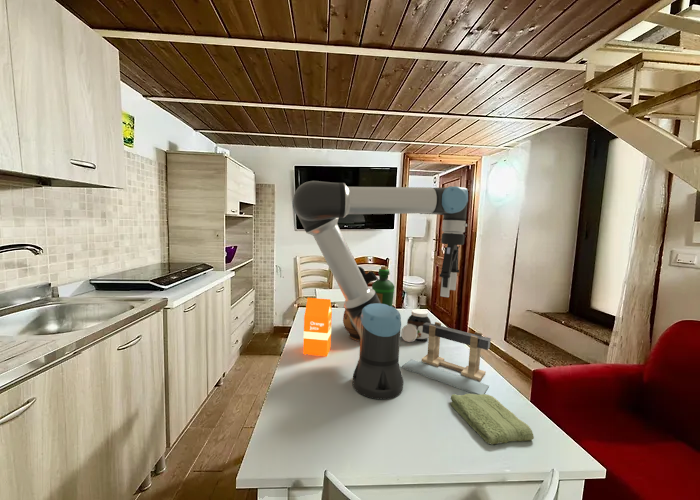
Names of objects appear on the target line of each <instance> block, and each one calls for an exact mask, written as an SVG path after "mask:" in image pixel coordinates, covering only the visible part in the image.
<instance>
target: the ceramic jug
mask: <svg viewBox="0 0 700 500" xmlns="http://www.w3.org/2000/svg"><path fill="white" fill-rule="evenodd" d="M357 266H358V265H357ZM358 268H359V270H360V272H361V274H362V276H363V278H364V280H365V282H366V284H367V286H368V285H369V283H372V282H375V281H377V280H378V279H379V277H378V276H377V275H376V274H375V273H374V272H373V271H368V272H367V273H366V270H365V269H364V268H363V267H361V266H358ZM342 323H343V327H344V329H345V331H347V333H348V338H349V339H352V340H353V341H355V342H357V341H358V342H360V336H359V334H358V332H357V331H356V329H355V327H354V326H353V325H352V323H351V321H350V317H349V315H348V313H347V311H346V310H345V309H344V311H343V317H342Z"/></svg>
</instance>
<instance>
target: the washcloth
mask: <svg viewBox="0 0 700 500" xmlns="http://www.w3.org/2000/svg"><path fill="white" fill-rule="evenodd" d="M450 400H451V402H450V406H451V407H452V408H453V409H454V410H455V411H456V413H458V415H459V416H461V418H462V419H463V420H464V422H466V423H467V424H468V425H469V426H470V427H471V428H472V429H473V430H474V431H475V432H476V433H477V434H478V435H479V436H480V438H482V439H483V440H484V442H486V443H487V444H488V445H489V444H490V445H497V444H504V443H505V444H507V443H509V442H515V441H516V442H527V441H529V442H530V441H533V440H534V439H535V436H534V433H533V430H532V428H531V427H530V426H529V425H528V424H527V423H526V422H524V421H523V420H521V419H520V418H519V417H518V416H517V415H515V414H514V413H513V412H512V411H511V410H510V409H508V408H507V407H506V406H504V405H503V404H502V403H501V401H499V400H498V399H497V398H495V397H494V396H493V395H490V394H486V393H485V394H480V395H477V394H472V393H465V394H461V395H459V394H456V393H454V394H451V395H450Z"/></svg>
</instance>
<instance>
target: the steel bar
mask: <svg viewBox="0 0 700 500" xmlns="http://www.w3.org/2000/svg"><path fill="white" fill-rule="evenodd" d="M429 325H432V326H436V331H435V336H437V337H440V339H441V338H442V339H444V340H445V339H446V340H449V341H453V342H455V343H460V344H463V345H468V346H470V340H471V335H472V336H476V337H478V343H477V347H478V348H481V349H482V350H486V351H489V349H490V348H491V341H492V338H491V337H487V336H483V335H482V336H479V335H475V333H471V332H466V331H462V330H458V329H454V328H451V327H448V326H442V325H441V326H439V325H435V323H432V322H431V323H427V322H426V323H424V324H423V330H422V332H423V333H426V334H429Z"/></svg>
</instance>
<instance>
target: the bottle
mask: <svg viewBox="0 0 700 500" xmlns="http://www.w3.org/2000/svg"><path fill="white" fill-rule="evenodd" d="M388 267H389V266H386V265H381V266H380V268H379V269H378V273H377V274H378V280H375V281H373V283H371V289H373V290H375V292H376V294H377V296H378V298H379V300H380V302H381V304H386V305H388V306H392V307H393V304H394V293H395V285H394V283H393V282H392V281H391V280H389V275H390V274H391V273H390V269H389V268H388Z"/></svg>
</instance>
